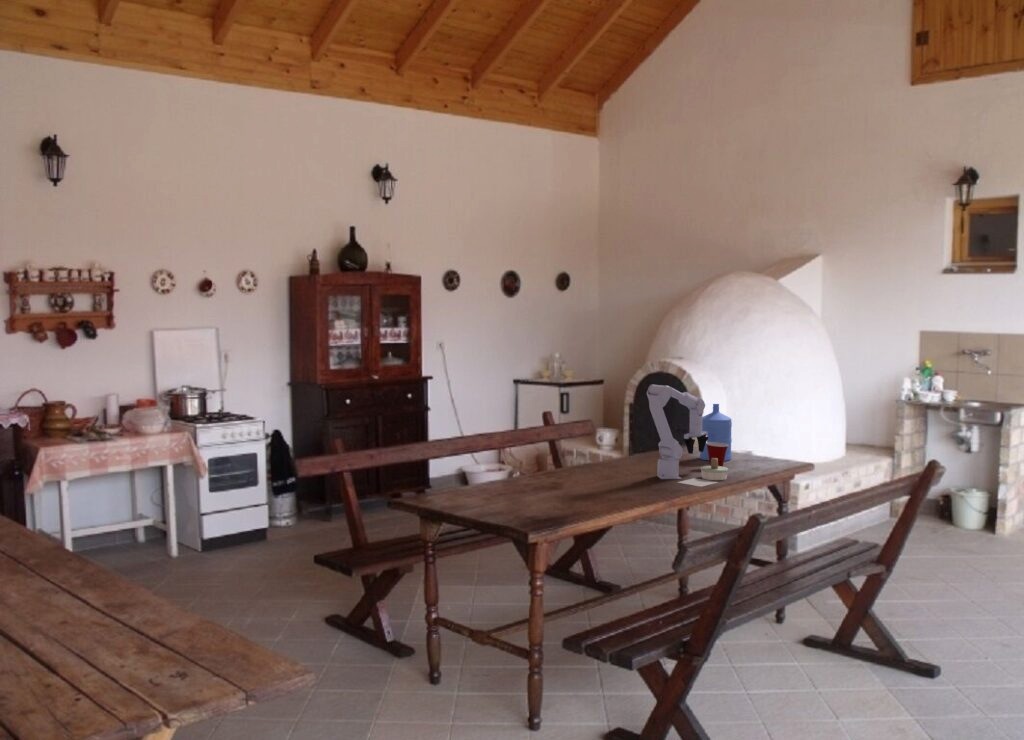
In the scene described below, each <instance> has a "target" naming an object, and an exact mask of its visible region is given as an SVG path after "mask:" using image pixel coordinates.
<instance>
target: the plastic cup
mask: <svg viewBox="0 0 1024 740" xmlns="http://www.w3.org/2000/svg"><path fill="white" fill-rule="evenodd" d="M706 444H707V449H708V455H709V461H708V462H709V466H711V458H718V466H722V467H724V462H725V461H724V459H725V454H726V450H727V447H728V446H729V445H728V444H724V443H718V442H706Z"/></svg>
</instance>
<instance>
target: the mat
mask: <svg viewBox="0 0 1024 740" xmlns="http://www.w3.org/2000/svg"><path fill="white" fill-rule="evenodd" d="M676 483H677V484H685V485H689V486H690V485H691V486H695V487H701V488H702V487H705V486H709V485H713V484H717V483H719V481H715V480H707V479H703V478H702V479H701V478H696V477H695V478H694V477H693V478H688V479H685V480H682V481H677V482H676Z"/></svg>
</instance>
